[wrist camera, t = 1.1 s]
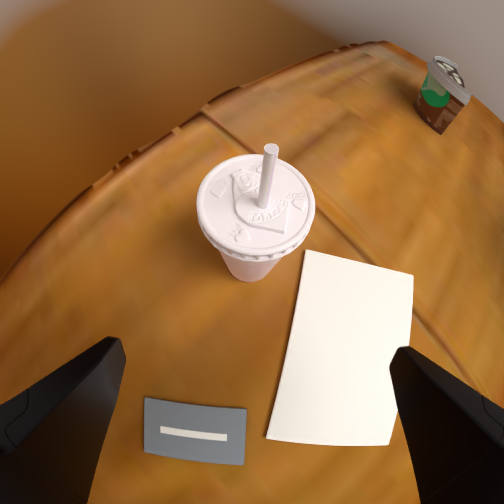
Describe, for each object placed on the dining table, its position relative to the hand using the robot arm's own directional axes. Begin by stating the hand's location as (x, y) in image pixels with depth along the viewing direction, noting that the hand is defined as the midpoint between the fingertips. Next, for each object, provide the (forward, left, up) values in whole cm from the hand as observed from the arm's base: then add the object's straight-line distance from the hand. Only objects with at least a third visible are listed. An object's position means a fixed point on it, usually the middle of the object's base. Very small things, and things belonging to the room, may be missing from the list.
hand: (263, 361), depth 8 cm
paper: (+2, -8, -13) cm, 16 cm away
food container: (+40, -20, -14) cm, 47 cm away
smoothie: (+8, +2, -14) cm, 16 cm away
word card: (-7, +3, -13) cm, 15 cm away
